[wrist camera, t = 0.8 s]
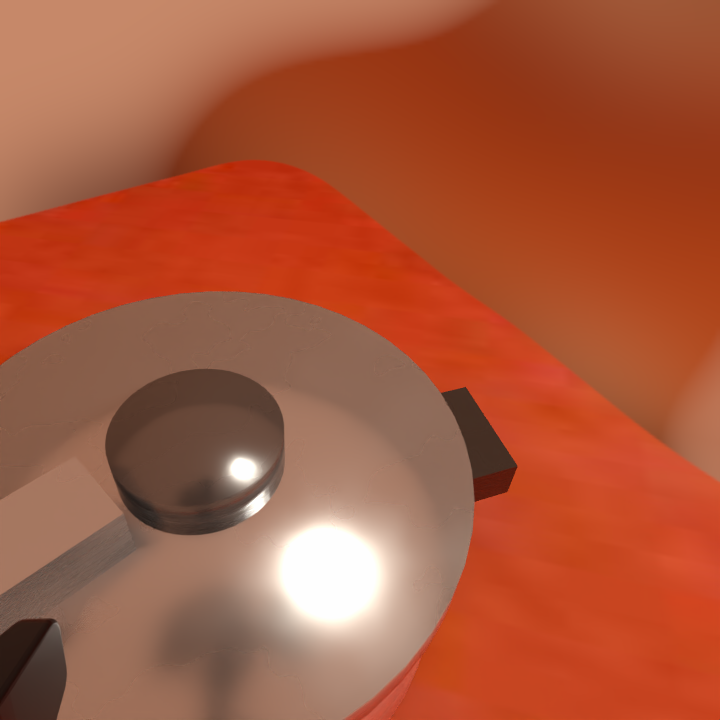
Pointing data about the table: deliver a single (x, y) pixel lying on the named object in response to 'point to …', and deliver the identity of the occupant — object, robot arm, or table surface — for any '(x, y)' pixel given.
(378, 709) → the pressure pot
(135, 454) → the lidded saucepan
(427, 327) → the table surface
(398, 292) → the table surface
